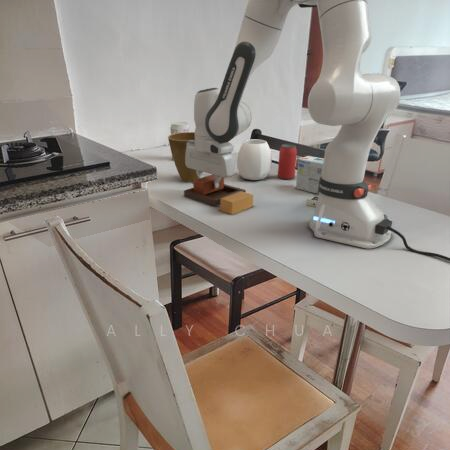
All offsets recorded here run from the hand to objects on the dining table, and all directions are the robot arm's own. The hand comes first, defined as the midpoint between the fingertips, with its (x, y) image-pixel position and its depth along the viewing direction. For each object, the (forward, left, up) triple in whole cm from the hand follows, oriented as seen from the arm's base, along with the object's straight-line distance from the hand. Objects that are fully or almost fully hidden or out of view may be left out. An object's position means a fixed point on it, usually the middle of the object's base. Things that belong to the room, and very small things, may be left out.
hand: (208, 185), depth 142 cm
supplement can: (+43, -26, -3) cm, 51 cm away
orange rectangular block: (-17, +4, -3) cm, 17 cm away
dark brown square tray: (-3, 0, -3) cm, 4 cm away
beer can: (-8, -35, -3) cm, 36 cm away
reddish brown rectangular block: (0, 0, -2) cm, 2 cm away
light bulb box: (-24, -29, -3) cm, 38 cm away
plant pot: (+17, -7, -3) cm, 19 cm away
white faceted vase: (+1, -26, -3) cm, 27 cm away
